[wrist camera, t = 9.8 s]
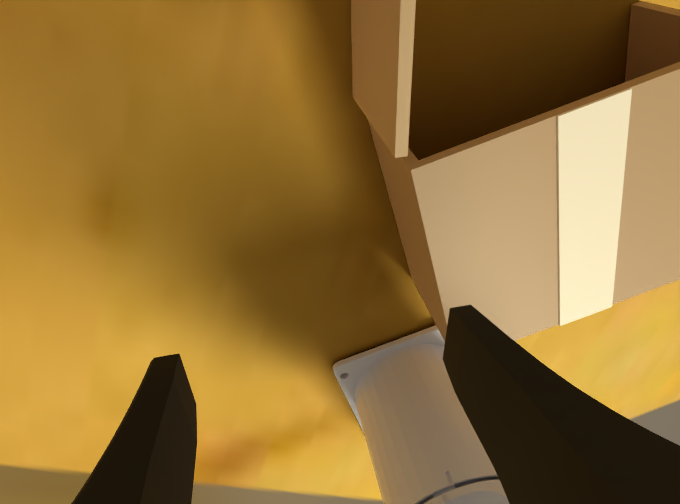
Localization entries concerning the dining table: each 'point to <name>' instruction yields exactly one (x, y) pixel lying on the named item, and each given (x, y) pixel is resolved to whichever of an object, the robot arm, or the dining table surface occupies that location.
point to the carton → (553, 200)
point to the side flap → (384, 66)
